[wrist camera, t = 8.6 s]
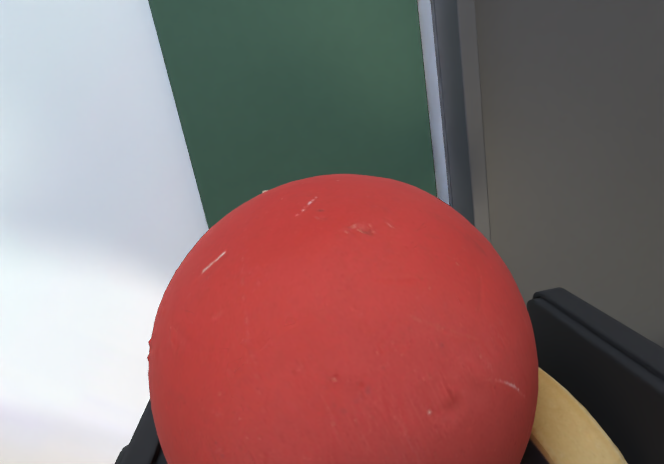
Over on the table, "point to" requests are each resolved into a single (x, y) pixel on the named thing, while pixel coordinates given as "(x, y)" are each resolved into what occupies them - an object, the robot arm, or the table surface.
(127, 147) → the table surface
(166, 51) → the mat
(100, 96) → the table surface
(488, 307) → the kendama
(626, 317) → the dark grey flat tray
